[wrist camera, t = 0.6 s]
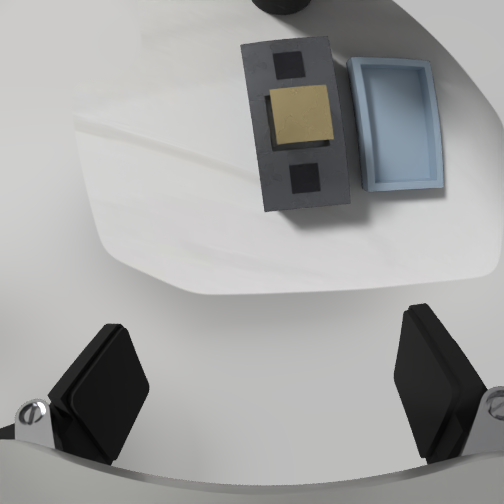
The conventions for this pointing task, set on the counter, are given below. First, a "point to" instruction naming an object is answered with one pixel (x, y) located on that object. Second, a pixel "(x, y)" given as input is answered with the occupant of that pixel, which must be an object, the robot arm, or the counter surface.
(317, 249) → the counter surface
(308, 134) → the brushed brass bar
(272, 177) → the grey slotted block
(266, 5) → the travel mug
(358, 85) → the parts tray
